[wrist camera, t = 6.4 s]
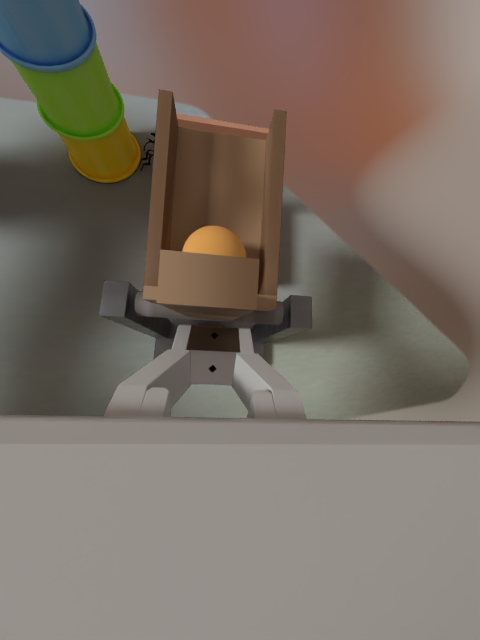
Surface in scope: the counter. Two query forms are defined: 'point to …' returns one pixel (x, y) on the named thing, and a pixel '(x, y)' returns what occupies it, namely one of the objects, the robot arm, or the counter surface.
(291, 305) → the lever stand
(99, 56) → the stacking cups
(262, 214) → the lever
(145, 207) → the counter surface
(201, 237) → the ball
